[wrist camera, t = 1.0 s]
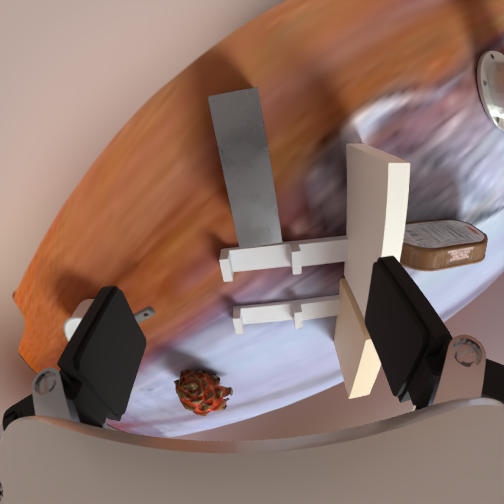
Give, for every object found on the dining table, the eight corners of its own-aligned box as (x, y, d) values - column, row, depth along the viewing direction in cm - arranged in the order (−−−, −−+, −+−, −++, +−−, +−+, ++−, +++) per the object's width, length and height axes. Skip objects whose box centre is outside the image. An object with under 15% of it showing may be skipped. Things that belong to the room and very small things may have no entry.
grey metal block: (256, 92, 24) (257, 87, 18) (276, 217, 31) (282, 242, 25) (216, 99, 24) (207, 96, 19) (241, 222, 31) (239, 248, 26)
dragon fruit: (185, 349, 44) (225, 375, 50) (155, 382, 42) (199, 403, 48) (207, 376, 37) (249, 399, 44) (173, 413, 35) (220, 430, 41)
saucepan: (189, 312, 37) (182, 340, 33) (113, 350, 43) (104, 373, 38) (133, 253, 33) (117, 278, 28) (67, 309, 38) (53, 330, 33)
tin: (377, 242, 32) (406, 281, 25) (379, 220, 30) (412, 255, 23) (460, 233, 31) (494, 262, 24) (464, 213, 30) (500, 241, 22)
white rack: (367, 143, 26) (422, 166, 16) (351, 339, 41) (369, 394, 31) (204, 156, 27) (177, 185, 17) (243, 352, 42) (242, 411, 32)
